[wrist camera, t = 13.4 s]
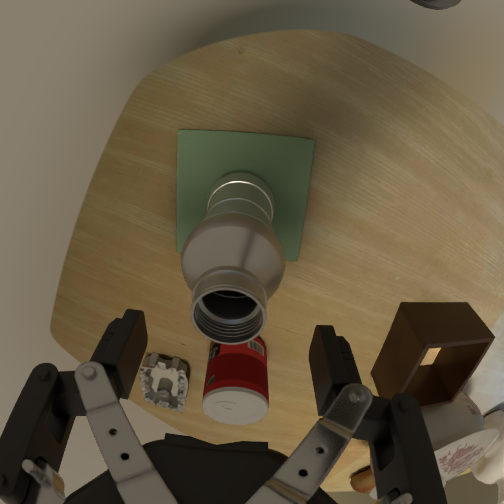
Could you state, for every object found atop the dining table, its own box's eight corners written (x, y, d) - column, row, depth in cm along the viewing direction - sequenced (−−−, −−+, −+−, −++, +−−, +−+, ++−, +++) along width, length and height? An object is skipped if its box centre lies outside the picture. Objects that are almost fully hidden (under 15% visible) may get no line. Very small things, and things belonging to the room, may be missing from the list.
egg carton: (145, 348, 44) (138, 367, 40) (193, 359, 45) (189, 379, 41) (144, 388, 48) (139, 406, 45) (186, 398, 49) (182, 417, 45)
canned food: (208, 327, 41) (198, 389, 32) (267, 328, 42) (271, 391, 32) (212, 364, 45) (204, 424, 35) (265, 366, 45) (267, 426, 35)
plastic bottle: (258, 235, 35) (265, 376, 17) (201, 212, 33) (148, 339, 15) (283, 182, 32) (323, 289, 14) (222, 158, 31) (181, 236, 13)
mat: (179, 129, 30) (177, 129, 29) (313, 139, 31) (315, 140, 30) (178, 249, 36) (176, 252, 36) (296, 258, 37) (297, 261, 36)
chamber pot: (410, 355, 45) (456, 456, 26) (488, 370, 49) (527, 438, 31) (328, 440, 57) (341, 523, 38) (413, 442, 61) (433, 505, 42)
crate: (400, 302, 40) (426, 344, 32) (467, 302, 40) (495, 337, 32) (370, 372, 46) (385, 414, 38) (433, 367, 47) (452, 402, 39)
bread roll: (341, 476, 68) (344, 498, 61) (385, 454, 63) (392, 478, 56) (358, 479, 71) (362, 500, 64) (400, 459, 66) (406, 481, 59)
